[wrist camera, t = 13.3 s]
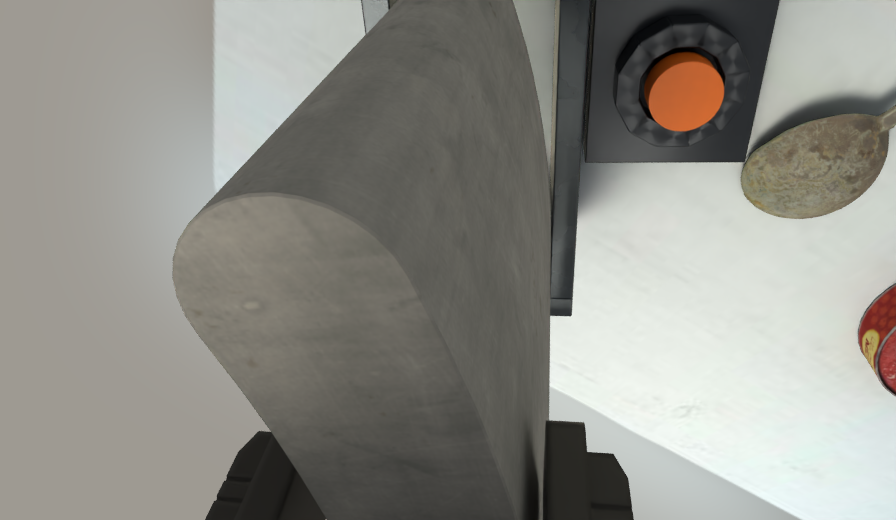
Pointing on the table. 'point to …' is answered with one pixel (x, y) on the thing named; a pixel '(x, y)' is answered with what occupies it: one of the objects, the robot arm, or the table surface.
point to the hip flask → (394, 273)
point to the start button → (683, 91)
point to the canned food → (881, 338)
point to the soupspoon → (818, 165)
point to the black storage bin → (553, 136)
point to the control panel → (646, 43)
